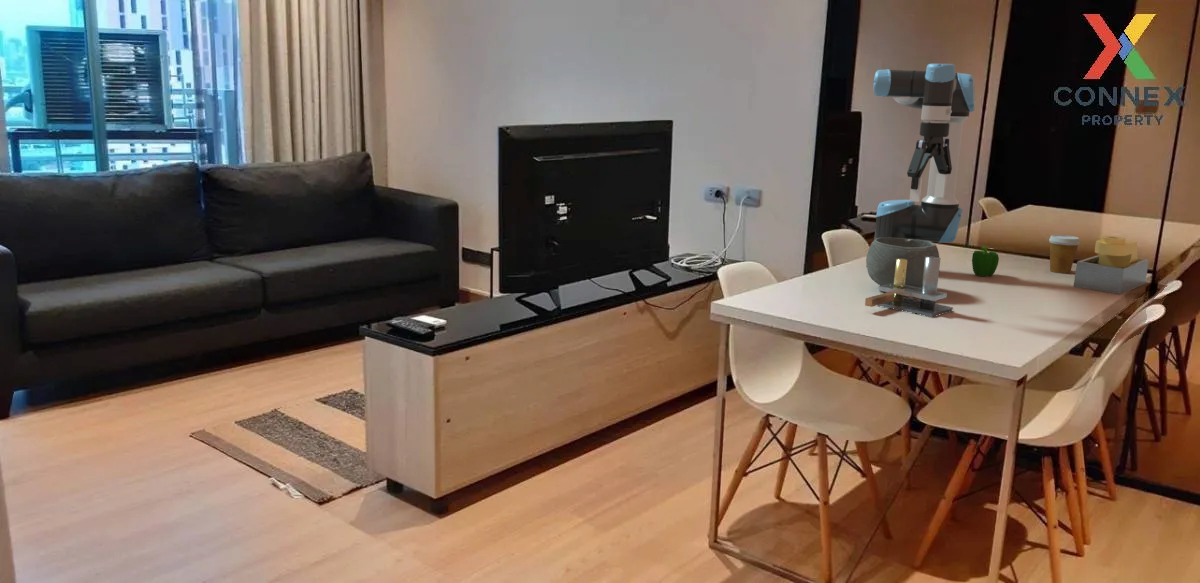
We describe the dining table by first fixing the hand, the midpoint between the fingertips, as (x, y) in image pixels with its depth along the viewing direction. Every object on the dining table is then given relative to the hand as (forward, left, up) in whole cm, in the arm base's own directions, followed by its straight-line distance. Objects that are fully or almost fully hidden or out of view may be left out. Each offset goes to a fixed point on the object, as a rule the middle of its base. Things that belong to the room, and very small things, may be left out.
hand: (927, 199), depth 259 cm
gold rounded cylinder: (-3, -5, -29) cm, 30 cm away
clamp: (+27, +76, -30) cm, 87 cm away
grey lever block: (+2, -11, -30) cm, 32 cm away
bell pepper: (-6, +56, -30) cm, 64 cm away
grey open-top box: (+27, +75, -30) cm, 86 cm away
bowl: (-12, +12, -30) cm, 35 cm away
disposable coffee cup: (+8, +85, -30) cm, 91 cm away
